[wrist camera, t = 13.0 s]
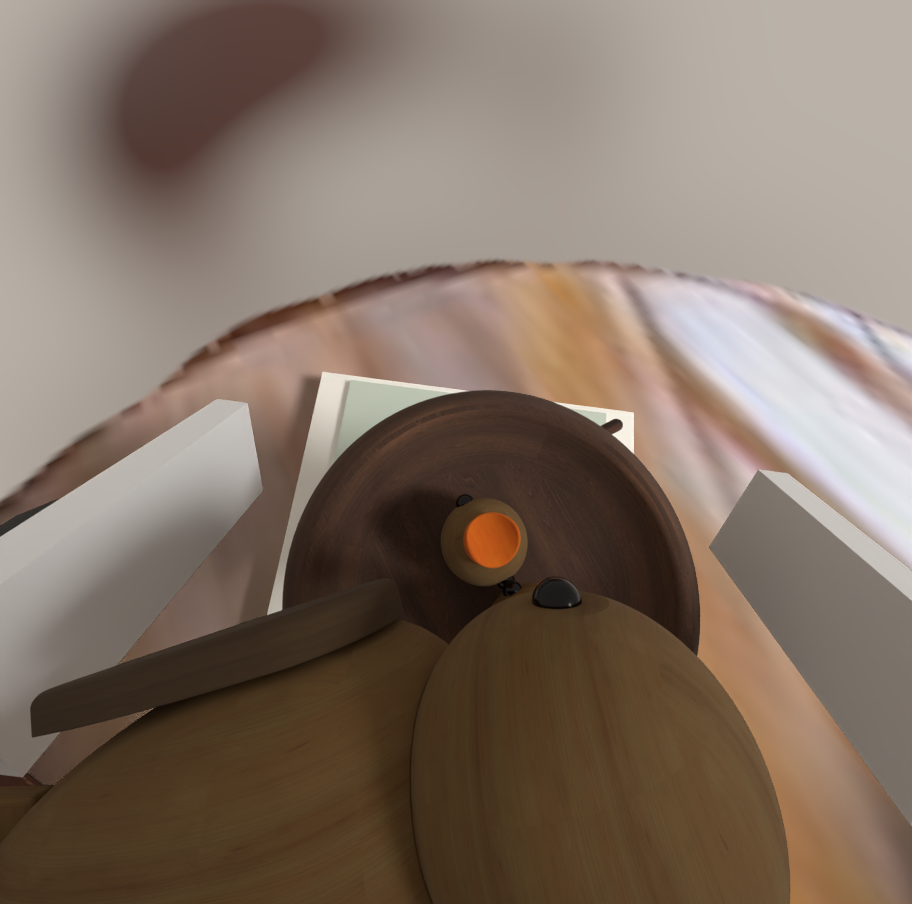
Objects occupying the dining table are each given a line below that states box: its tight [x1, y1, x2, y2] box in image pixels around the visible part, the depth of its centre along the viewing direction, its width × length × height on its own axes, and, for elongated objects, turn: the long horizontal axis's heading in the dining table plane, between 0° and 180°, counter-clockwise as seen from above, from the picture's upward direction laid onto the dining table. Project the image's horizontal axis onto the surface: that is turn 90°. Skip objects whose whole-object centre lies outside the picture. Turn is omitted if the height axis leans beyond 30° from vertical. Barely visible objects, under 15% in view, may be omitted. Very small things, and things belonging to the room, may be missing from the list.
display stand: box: [267, 372, 634, 615], centre depth 22 cm, size 20×20×2 cm
